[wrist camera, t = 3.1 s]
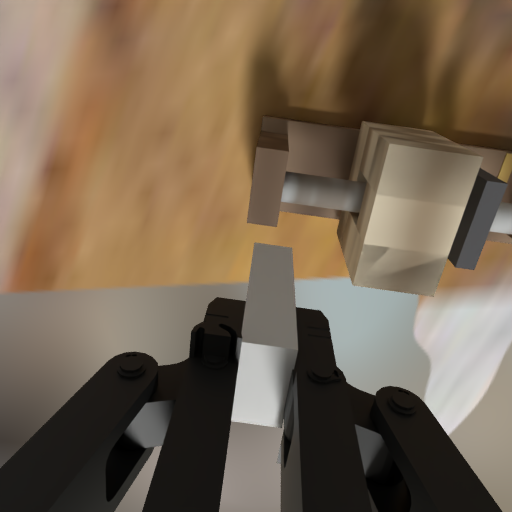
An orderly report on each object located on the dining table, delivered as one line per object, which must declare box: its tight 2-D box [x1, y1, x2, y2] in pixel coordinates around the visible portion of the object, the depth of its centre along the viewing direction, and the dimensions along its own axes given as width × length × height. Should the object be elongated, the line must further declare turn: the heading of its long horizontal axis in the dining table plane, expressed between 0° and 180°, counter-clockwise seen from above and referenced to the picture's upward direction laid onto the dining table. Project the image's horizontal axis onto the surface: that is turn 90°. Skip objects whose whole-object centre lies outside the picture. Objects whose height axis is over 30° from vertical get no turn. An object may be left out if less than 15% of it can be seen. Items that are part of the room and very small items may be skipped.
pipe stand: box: [247, 115, 512, 244], centre depth 31 cm, size 22×7×7 cm, turn 83°
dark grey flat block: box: [448, 168, 508, 270], centre depth 28 cm, size 1×6×6 cm, turn 173°
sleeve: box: [337, 121, 483, 297], centre depth 28 cm, size 5×9×9 cm, turn 172°
